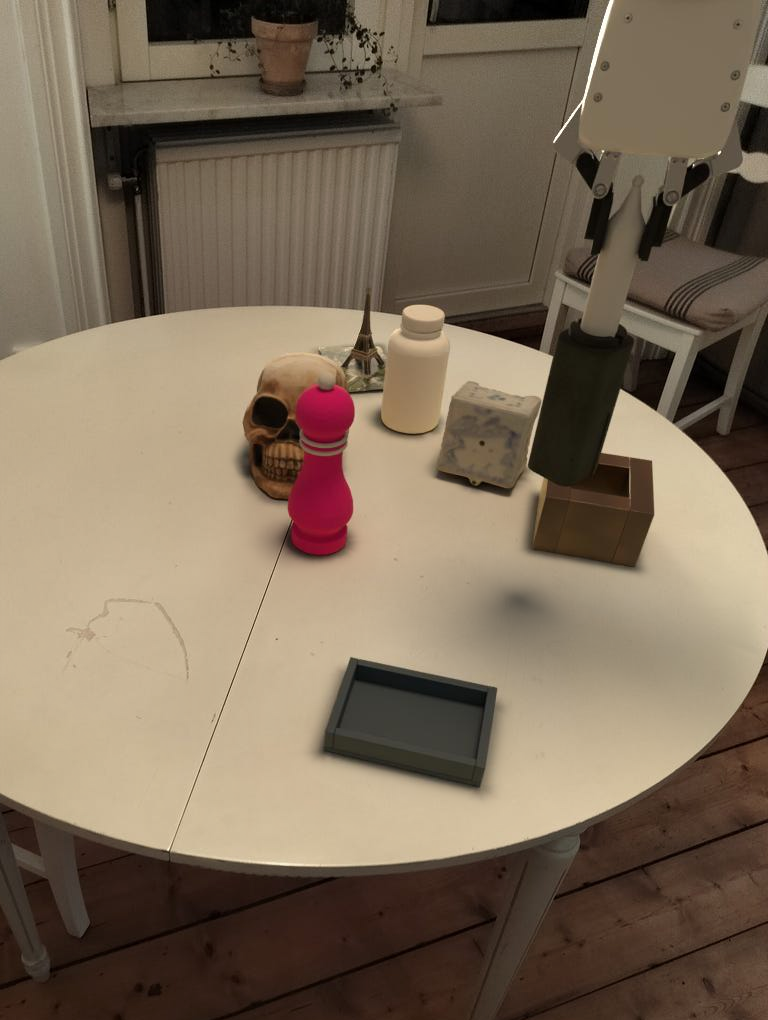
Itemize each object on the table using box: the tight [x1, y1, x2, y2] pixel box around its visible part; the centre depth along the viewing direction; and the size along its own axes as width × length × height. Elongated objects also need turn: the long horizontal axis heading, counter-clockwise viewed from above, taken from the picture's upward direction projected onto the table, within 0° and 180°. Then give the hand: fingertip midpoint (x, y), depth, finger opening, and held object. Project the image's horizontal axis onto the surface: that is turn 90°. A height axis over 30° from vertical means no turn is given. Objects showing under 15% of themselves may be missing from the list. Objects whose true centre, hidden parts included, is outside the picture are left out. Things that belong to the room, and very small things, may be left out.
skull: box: [242, 351, 350, 500], centre depth 107 cm, size 16×17×13 cm
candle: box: [527, 174, 646, 487], centre depth 72 cm, size 5×5×25 cm
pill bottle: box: [380, 304, 451, 434], centre depth 113 cm, size 8×8×15 cm
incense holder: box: [436, 380, 542, 489], centre depth 105 cm, size 10×8×10 cm
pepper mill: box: [287, 372, 356, 556], centre depth 91 cm, size 7×7×20 cm
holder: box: [531, 452, 655, 568], centre depth 97 cm, size 11×11×7 cm
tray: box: [323, 656, 498, 788], centre depth 76 cm, size 14×10×2 cm
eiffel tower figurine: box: [318, 279, 387, 393], centre depth 124 cm, size 15×10×13 cm
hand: (619, 250), depth 67 cm, fingers closed on candle, 3 cm apart
